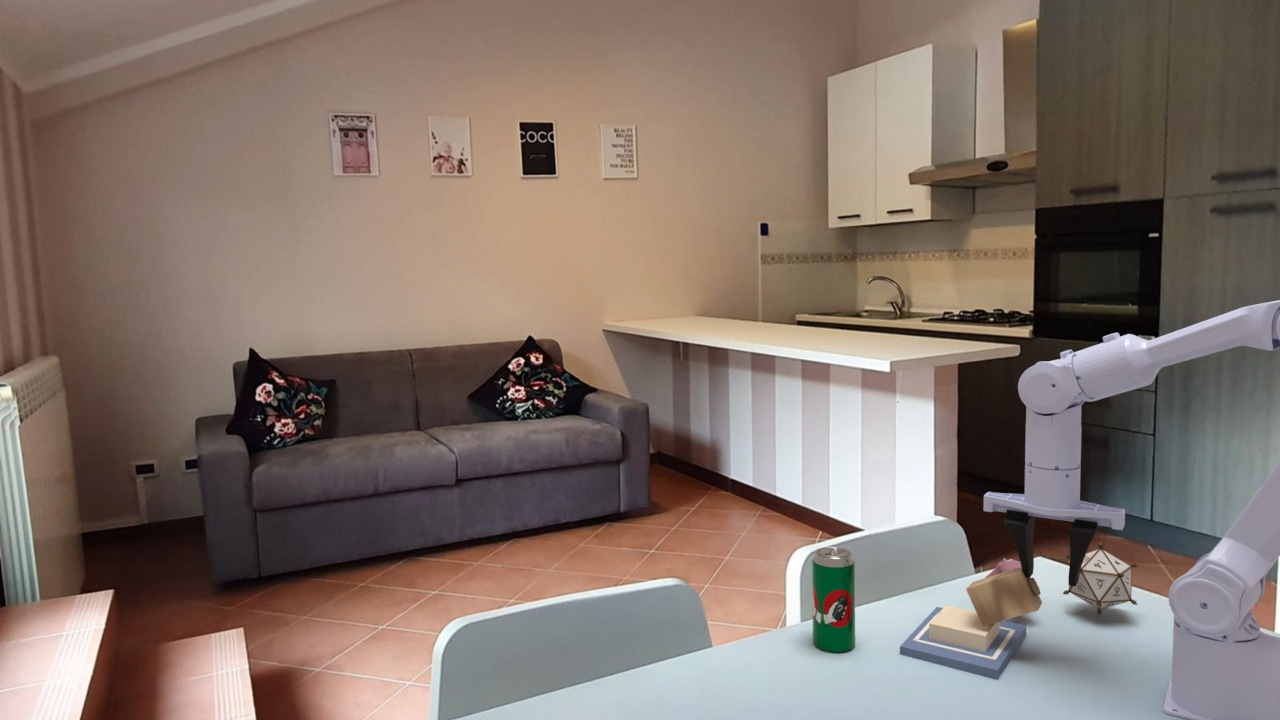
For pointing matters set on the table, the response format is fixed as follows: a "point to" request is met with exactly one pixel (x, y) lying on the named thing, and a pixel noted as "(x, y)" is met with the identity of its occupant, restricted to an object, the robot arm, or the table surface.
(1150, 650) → the table surface
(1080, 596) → the game die
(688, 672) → the table surface
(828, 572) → the soda can
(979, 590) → the oak block
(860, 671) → the table surface
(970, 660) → the blueprint board
